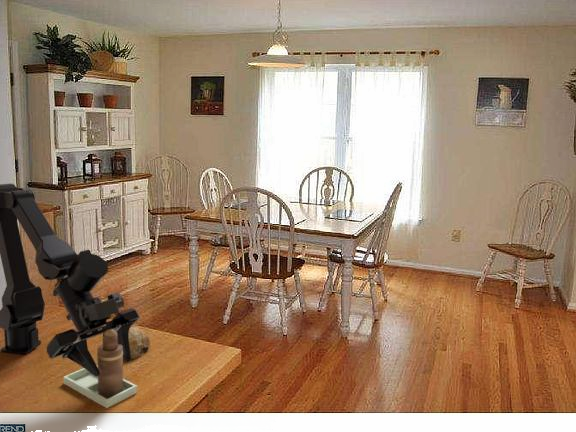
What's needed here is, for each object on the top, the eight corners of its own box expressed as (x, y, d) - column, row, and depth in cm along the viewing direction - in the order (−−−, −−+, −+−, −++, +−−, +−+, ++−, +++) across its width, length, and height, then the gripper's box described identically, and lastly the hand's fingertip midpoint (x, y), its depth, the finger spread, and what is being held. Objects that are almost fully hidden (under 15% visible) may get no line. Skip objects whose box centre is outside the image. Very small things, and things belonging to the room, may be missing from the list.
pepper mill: (93, 398, 105) (92, 333, 102) (104, 385, 110) (104, 323, 107) (116, 401, 105) (116, 336, 102) (127, 388, 109) (127, 326, 107)
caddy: (63, 385, 110) (63, 376, 110) (94, 371, 116) (94, 363, 116) (106, 410, 102) (106, 401, 102) (137, 394, 108) (137, 385, 108)
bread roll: (129, 377, 122) (142, 350, 120) (92, 354, 123) (105, 327, 121) (148, 358, 131) (161, 333, 129) (114, 336, 132) (126, 311, 130)
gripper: (52, 295, 97) (90, 369, 93) (133, 272, 112) (169, 335, 108) (31, 323, 103) (66, 393, 99) (111, 298, 118) (144, 358, 114)
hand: (114, 368), depth 105 cm, fingers open, 7 cm apart
